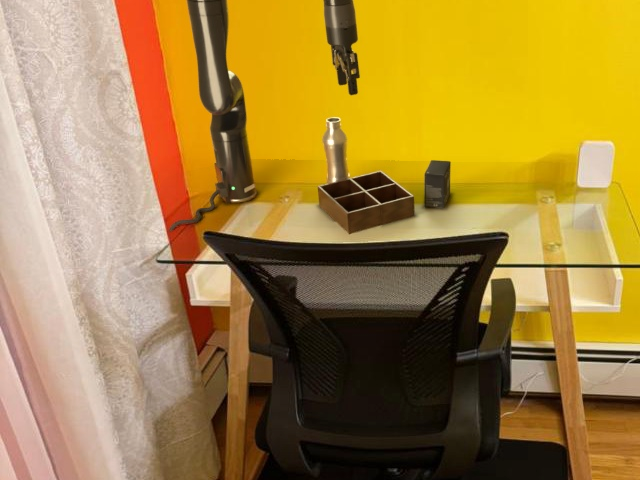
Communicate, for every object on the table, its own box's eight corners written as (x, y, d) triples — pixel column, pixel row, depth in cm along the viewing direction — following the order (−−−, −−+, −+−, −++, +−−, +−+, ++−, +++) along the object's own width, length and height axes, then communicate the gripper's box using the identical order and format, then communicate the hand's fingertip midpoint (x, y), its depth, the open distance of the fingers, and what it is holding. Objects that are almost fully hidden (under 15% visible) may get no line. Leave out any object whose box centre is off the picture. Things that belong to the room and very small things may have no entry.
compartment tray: (348, 233, 197) (347, 213, 193) (319, 205, 210) (317, 186, 207) (414, 216, 203) (414, 196, 200) (382, 189, 217) (381, 170, 213)
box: (444, 209, 206) (444, 175, 200) (423, 207, 207) (423, 173, 202) (450, 193, 213) (451, 160, 208) (430, 192, 214) (430, 159, 209)
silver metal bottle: (348, 196, 214) (342, 124, 202) (324, 195, 215) (317, 123, 203) (354, 186, 219) (349, 115, 207) (330, 185, 220) (324, 114, 208)
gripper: (317, 18, 194) (325, 84, 204) (334, 31, 183) (342, 100, 193) (346, 13, 196) (353, 79, 205) (365, 26, 185) (371, 94, 195)
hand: (348, 89), depth 199 cm, fingers open, 8 cm apart
